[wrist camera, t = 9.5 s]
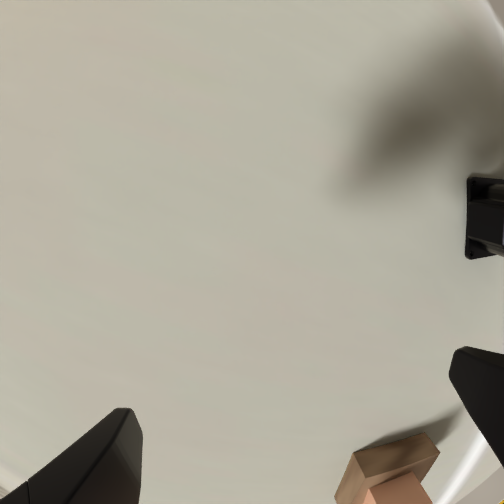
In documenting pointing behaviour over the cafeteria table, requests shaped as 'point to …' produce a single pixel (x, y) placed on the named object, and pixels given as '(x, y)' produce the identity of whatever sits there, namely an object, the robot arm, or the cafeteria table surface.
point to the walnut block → (385, 466)
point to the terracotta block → (398, 492)
